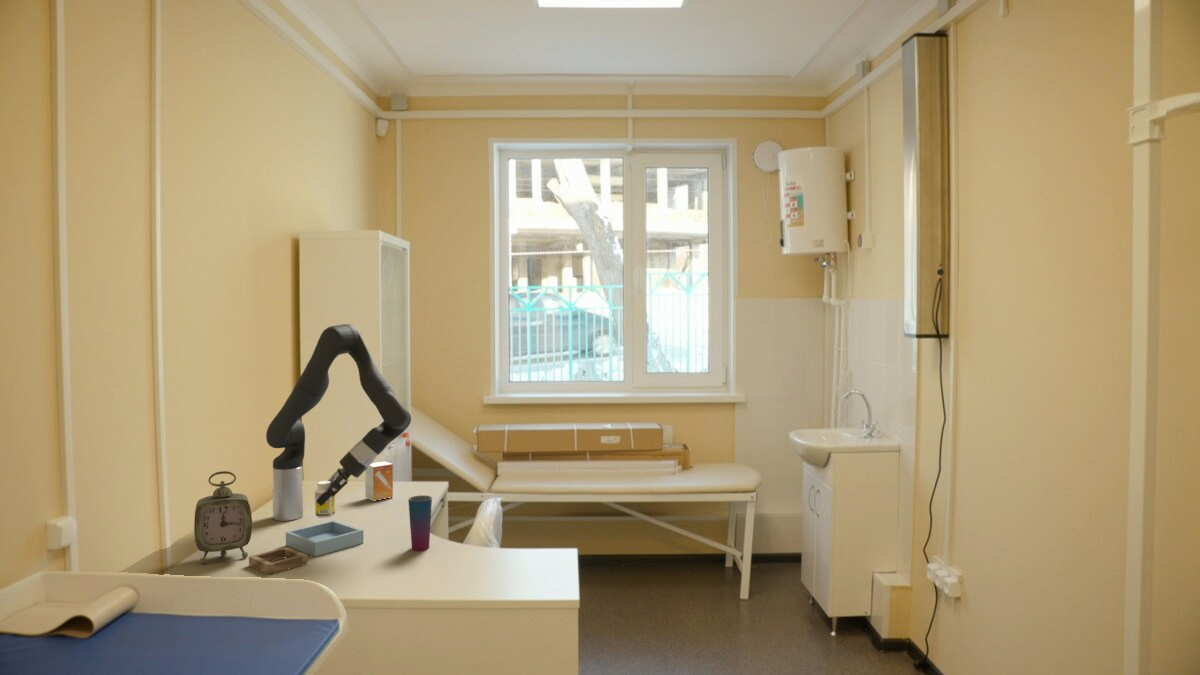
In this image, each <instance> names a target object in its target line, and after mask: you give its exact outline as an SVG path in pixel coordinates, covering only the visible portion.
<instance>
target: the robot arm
mask: <svg viewBox="0 0 1200 675" xmlns="http://www.w3.org/2000/svg"><path fill="white" fill-rule="evenodd" d="M345 354H348V355H349V356H350V357H351V358H352V360H353V361H354V362H355V364H356V366H357V369H358V376H359V382H360V385H361V387H362V389H363V391H364V392H365V394H366V396H367V397H368V399H369V400H370V402H371V403H372V404H373V405H374V406H375V407H376V409H377V411H378V413H379V415H380V416H381V418H382V420H383V421H382V422H381V423H380V424H379V425H378V426H375V427H373V428H371V429H370V430H369V431H368V432H367V433H366V434H365V435H364V436H363V437H362V438H361V439H360V440H359V441H358V442H357V443H355V444H354V445H353V446H352V448H351V449H349V450H348V451H347V453H346V454H345V455H344V456H343V457H342V458H341V459H340V460H339V464H340V466H341V467H342V468H340V467H339V468H337V470H336V471H335V472H334V473H333V474H332V475H331V476H330V478H329V479H328V480H327V481H331V482H330V483H329V487H328V488H327V489H326V491H325V492H324V493H323V494H322V495H321V496H320V497H319V498H318V499H317V503H318V504H319V505H321V506H322V505H323V504H324V503H325V502H326V501H327V500H328V499H329V498H330V497H332V496H335V497H336V495H337V494H338V493H339V492H340V491H341V489H343V488H344V487H345V486H346V485H348V483H349V478H350V477H351V476H353V477H354V478H355V479H356V478H357V479H358V478H360V476H361V475H362V474H363V473H365V470H366V469H367V468H368V467H369V466H370V465H371V464H372V463H374V461H375V460H376V459H377V457H378V456H379V455H380V454H381V453H382V452H383V451H384V450H385V449H386V448H387V446H388V445H390V444H391V443H392V442H393V441H394V440H395V439H397V438H398V437H399V436H400V435H402V433H404V432H405V431H406V430H407V429H408V427H409V426H410V424H411V422H412V415H411V413H410V412H409V411H408V410H407V409H406V408H405V407H404V406H403V405H402V404H401V402H400V401H399V399H398V398H397V397H396V396H395V393H394V391H393V389H392V388H391V386H390V385H389V384H388V382H387V381H386V379H385V378H384V377H383V375H382V374H381V373H380V371H379V369H378V367H377V366H376V364H375V362H374V360H373V357H372V355H371V353H370V352H369V349H368V347H367V346H366V344H365V342H364V340H363V337H362V336H361V333H360V332H359V330H358V329H357V328H356V327H355V326H354V325H352V324H350V323H349V324H348V323H344V324H343V323H342V324H339V325H338V324H337V325H332V326H328V327H327V328H325V329H324V330H323V331H322V333H321V334H320V336H319V339H318V340H317V342H316V345H315V348H314V350H313V352H312V355H311V357H310V359H309V361H308V362H307V364H306V366H305V368H304V369H303V372H302V374H301V375H300V376H299V378H298V380H297V382H296V383H295V385H294V387H293V389H292V391H291V392H290V395H289V396H287V397H288V398H287V399H286V401H285V402H284V404H283V406H282V407H281V408H280V410H279V411H278V412H277V414H276V415H275V416H274V418H273V419H272V420H271V422H270V423H269V425H268V427H267V430H266V434H265V437H266V438H265V439H266V442H267V444H268V445H269V447H271V448H273V449H284V450H283V451H282V452H281V453H280V454H279V455H277V456H276V457H275V458H274V459H273V461H272V483H273V484H272V488H273V489H272V516H273V519H274V520H275V521H282V522H283V521H284V522H285V521H294V519H295V520H298V519H301V518H302V517H303V516H304V489H303V484H304V483H303V482H304V481H303V476H304V475H303V462H304V459H305V448H306V446H305V445H306V444H305V443H306V431H305V429H306V428H305V426H304V423H303V422H302V420H300V419H301V418H302V417H303V416H305V415H306V414H307V413H309V412H310V411H311V410H313V409H314V408H315V407H316V406H317V405H318V404H319V403H320V402H321V400H322V399H323V397H324V395H325V394H326V392H327V390H328V389H329V386H330V385H329V384H330V378H329V369H330V367H331V365H332V364H333V362H334V361H335V360H336V358H338V356H340V355H345ZM332 488H334V491H333V490H331V489H332ZM300 517H301V518H300Z"/></svg>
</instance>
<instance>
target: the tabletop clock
mask: <svg viewBox="0 0 1200 675" xmlns="http://www.w3.org/2000/svg"><path fill="white" fill-rule="evenodd" d="M223 474H224V475H226V474H228V475H231V476H232V477H233V480H232V481H231V482H226V483H225V481H224V480H221V481H220V482H219V483H213V482H211V479H212V478H213V477H214V476H217V475H223ZM236 480H237V477H236V475H235V473H233V472H231V471H228V470H223V471H217V472H214V473H213V474H211V475H210V476H209V478H208V483H209V485H211V486H212V487H217V488H215V490H214V491H213V493H212V495H209V496H205V497H202V498H200V499H198V501H197V503H196V505H195V509H194V523H193V528H194V531H193V532H194V538H195V543H196V547H197V549H198V551H200V552H204V554H203V556H202V558H200V559H199V564H200V565H201V564H202V563H203V564H206V562H207V559H206V557H207V555H208V553H213V552H214V553H216V552H220V556H221V557H225V556H226V555H227V554H228V552H227V551H230V550H235V549H239V550H240V551H241V552H242V553H241V557H242V558H244V559H246V558H247V557H249V553H248V552H247V551H245V549H244V547H246V546H248V545H249V542H250V540H251V537H252V528H253V527H252V526H253V518H252V511H251V506H250V505H251V504H250V502H249V499H248V496H247V495H246V494H243V493H233V492H232V489H231V488H230V487H227V486H230V485H232V484H234V483H235V482H236Z"/></svg>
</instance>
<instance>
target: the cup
mask: <svg viewBox="0 0 1200 675" xmlns="http://www.w3.org/2000/svg"><path fill="white" fill-rule="evenodd" d="M407 500H408V512H409V513H408V514H409V524H410V525H409V528H410V541H411V543H410V544H411V550H412V551H416V552H417V551H418V552H420V551H426V550H428V549H429V548H430V539H431V538H430V537H431V521H432V505H433V502H432V500H433V497H432V496H430V495H426V494H425V495H424V494H423V495H421V494H420V495H419V494H418V495H413V496H410V497H409V498H408V499H407Z"/></svg>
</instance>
